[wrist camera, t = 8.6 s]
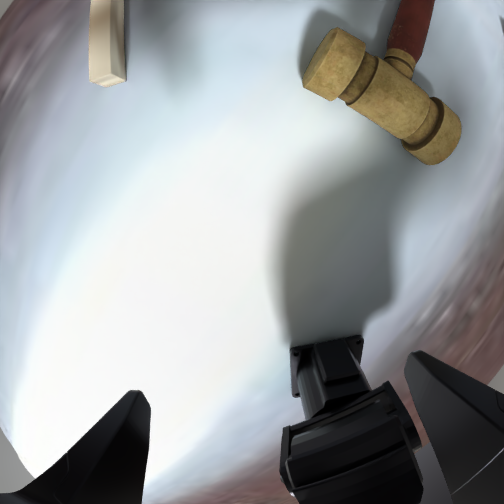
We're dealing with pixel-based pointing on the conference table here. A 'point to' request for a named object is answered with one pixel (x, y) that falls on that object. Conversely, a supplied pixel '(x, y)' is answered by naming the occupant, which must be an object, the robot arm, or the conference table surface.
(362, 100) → the gavel
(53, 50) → the conference table surface
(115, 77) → the wooden bars
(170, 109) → the conference table surface
